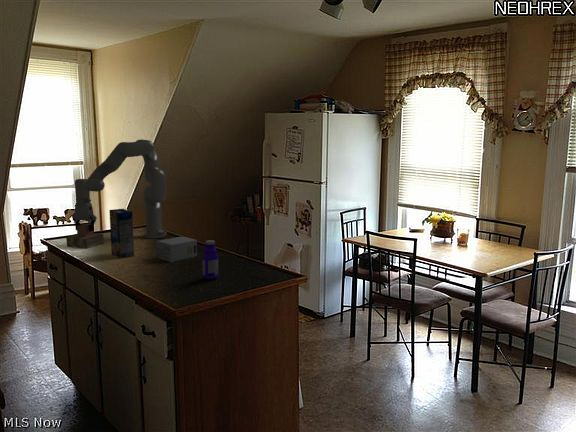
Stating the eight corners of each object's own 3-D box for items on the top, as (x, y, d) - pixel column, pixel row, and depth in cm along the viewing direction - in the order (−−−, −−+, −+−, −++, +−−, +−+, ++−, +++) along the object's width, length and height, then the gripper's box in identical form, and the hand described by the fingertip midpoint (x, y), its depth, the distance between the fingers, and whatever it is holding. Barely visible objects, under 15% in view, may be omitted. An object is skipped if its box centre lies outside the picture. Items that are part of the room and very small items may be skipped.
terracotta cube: (93, 234, 300) (92, 224, 299) (85, 236, 294) (85, 226, 293) (84, 234, 302) (84, 223, 301) (77, 236, 297) (76, 225, 295)
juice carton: (111, 254, 279) (109, 209, 275) (125, 252, 283) (122, 208, 279) (120, 258, 270) (118, 212, 266) (134, 256, 274) (132, 211, 270)
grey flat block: (103, 244, 303) (103, 234, 302) (86, 249, 290) (86, 238, 289) (84, 242, 308) (83, 232, 307) (66, 247, 295) (66, 236, 294)
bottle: (212, 275, 241) (211, 238, 238) (220, 278, 237) (220, 240, 234) (200, 279, 235) (199, 241, 232) (208, 281, 232) (208, 243, 229)
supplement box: (171, 262, 263) (170, 244, 262) (156, 258, 272) (155, 240, 271) (197, 256, 276) (197, 239, 274) (182, 252, 284) (182, 235, 283)
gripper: (99, 200, 295) (101, 230, 298) (75, 199, 301) (77, 228, 304) (90, 202, 288) (92, 233, 291) (66, 200, 295) (68, 230, 297)
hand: (84, 230), depth 298 cm, fingers open, 9 cm apart
